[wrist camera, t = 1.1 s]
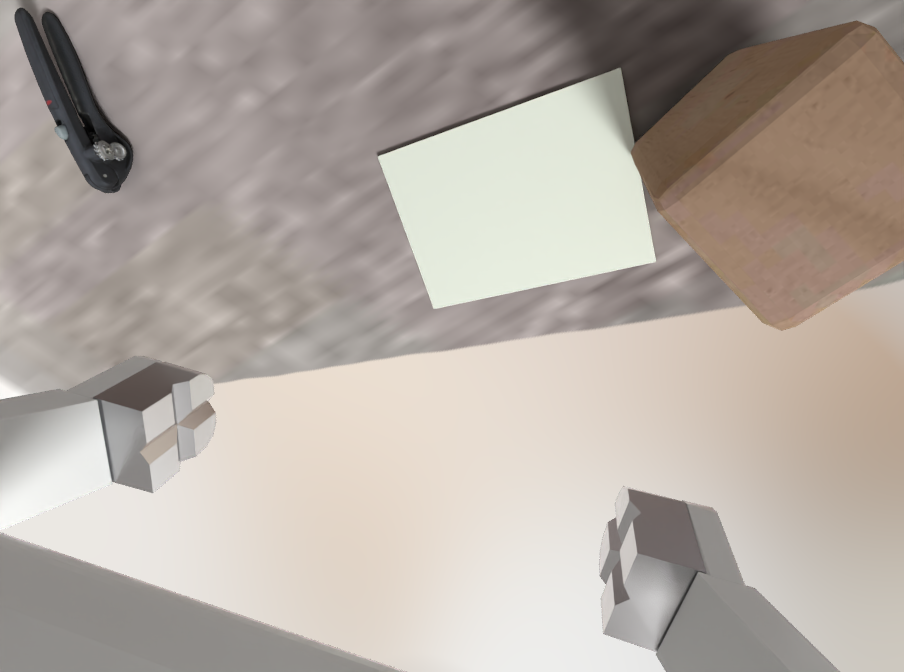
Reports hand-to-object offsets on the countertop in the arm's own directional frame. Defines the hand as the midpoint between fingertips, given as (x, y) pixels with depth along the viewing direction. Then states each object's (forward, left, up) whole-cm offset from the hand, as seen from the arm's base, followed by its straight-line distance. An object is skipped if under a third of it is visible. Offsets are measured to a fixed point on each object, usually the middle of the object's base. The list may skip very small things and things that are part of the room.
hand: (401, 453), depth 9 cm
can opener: (+23, -45, -39) cm, 64 cm away
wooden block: (-7, +9, -39) cm, 40 cm away
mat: (+6, -2, -39) cm, 39 cm away
